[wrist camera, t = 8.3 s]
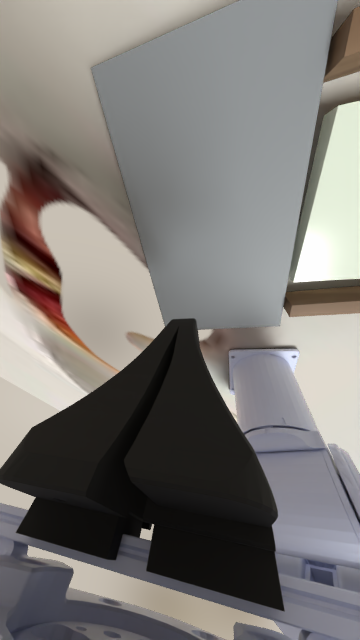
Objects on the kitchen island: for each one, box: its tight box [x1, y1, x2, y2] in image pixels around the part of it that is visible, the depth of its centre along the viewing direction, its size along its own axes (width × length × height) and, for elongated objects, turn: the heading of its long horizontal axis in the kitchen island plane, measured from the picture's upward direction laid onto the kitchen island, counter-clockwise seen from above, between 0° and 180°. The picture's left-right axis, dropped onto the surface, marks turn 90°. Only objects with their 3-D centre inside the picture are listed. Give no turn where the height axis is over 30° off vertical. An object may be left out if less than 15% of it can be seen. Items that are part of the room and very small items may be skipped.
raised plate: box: [91, 0, 338, 330], centre depth 14 cm, size 19×12×2 cm, turn 10°
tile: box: [289, 101, 360, 282], centre depth 12 cm, size 10×6×2 cm, turn 8°
